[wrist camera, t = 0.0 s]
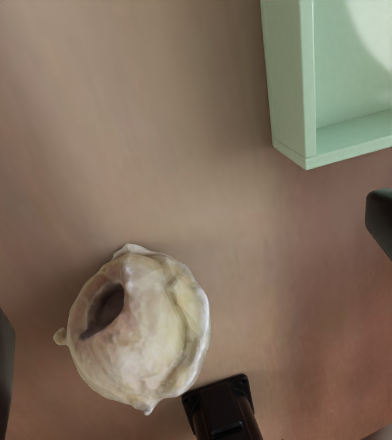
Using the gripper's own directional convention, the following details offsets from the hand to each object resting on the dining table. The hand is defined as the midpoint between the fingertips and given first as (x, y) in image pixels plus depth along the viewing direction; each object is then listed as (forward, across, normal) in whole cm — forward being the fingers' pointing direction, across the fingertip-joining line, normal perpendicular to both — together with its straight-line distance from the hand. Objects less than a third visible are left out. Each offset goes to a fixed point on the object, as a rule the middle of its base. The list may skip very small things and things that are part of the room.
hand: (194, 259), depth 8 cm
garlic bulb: (+15, +4, +11) cm, 19 cm away
